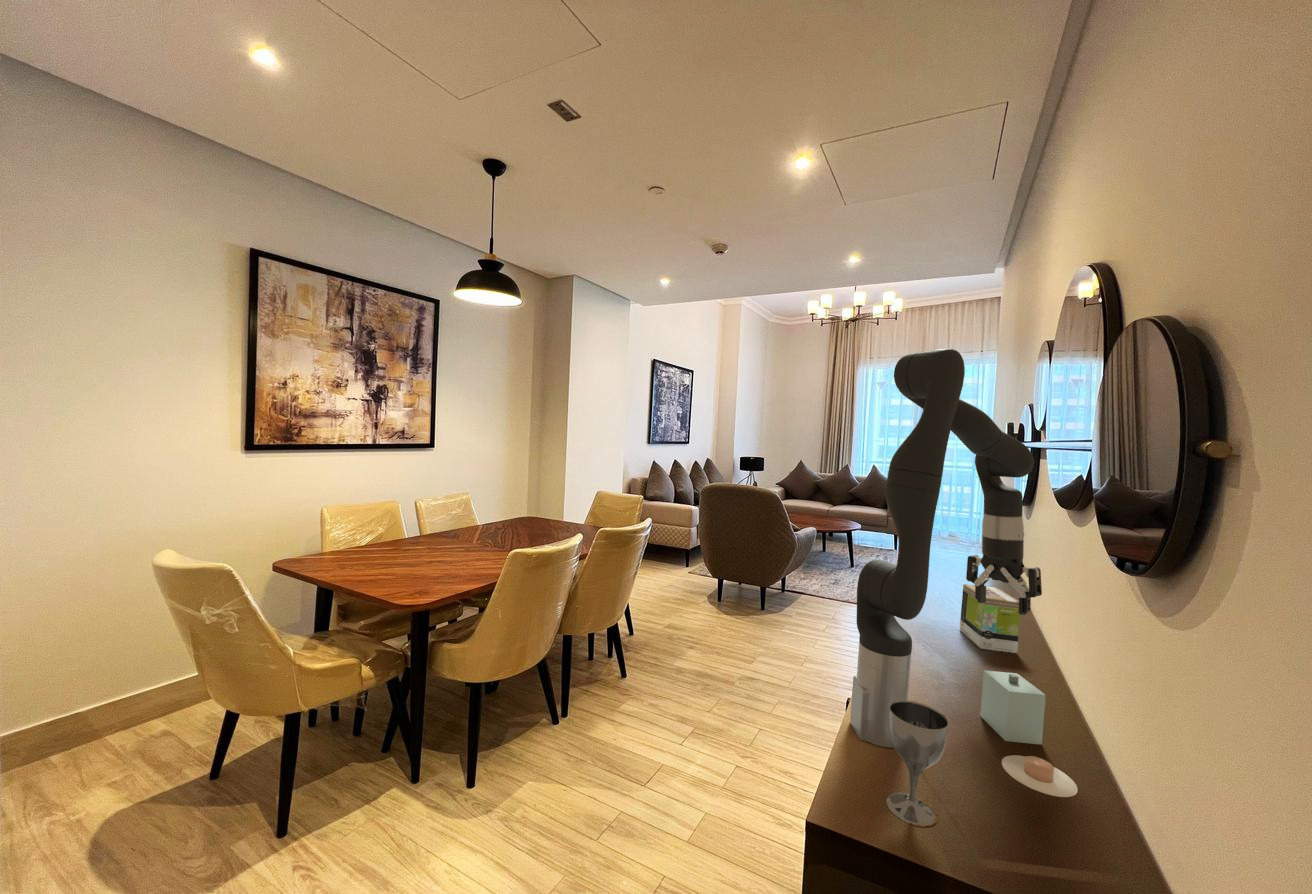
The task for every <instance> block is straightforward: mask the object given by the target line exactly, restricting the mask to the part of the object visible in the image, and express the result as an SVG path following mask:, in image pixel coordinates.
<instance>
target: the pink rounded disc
mask: <svg viewBox="0 0 1312 894" xmlns="http://www.w3.org/2000/svg"><path fill="white" fill-rule="evenodd" d="M1054 767H1055V766H1053V764H1051V762H1049V761H1047V760H1046V759H1044V758H1040V757H1039V756H1033V755H1026V756H1025V763H1024V771H1025V773H1026V774H1027V775H1028V776H1030V777H1031V778H1033V779H1035V780H1038V781H1040V782H1044V783H1051V782H1053V776H1054Z"/></svg>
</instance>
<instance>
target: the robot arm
mask: <svg viewBox="0 0 1312 894" xmlns="http://www.w3.org/2000/svg"><path fill="white" fill-rule="evenodd" d="M965 368H966V367H965V361H964V358H963V355H961V353H960V352H959V351H958V350H956V349H953V348H940V349H934V350H927V351H926V350H925V351H918V352H911V353H909V354H906V355H903V356H902V357H900V359H899V360H898V361H897V362H896V364H895V367H894V370H893V380H894V384H895V386H896V388H897V390H898V391H899V392H900V393H901V394H902V395H903V396H904V397H905V398H906V399H908V400H909V401H911V402H912V403H913V404H915V405H917V406H918V407H919V408H921V409H922V412H921V415H920V418H919V419H918V421H917V423H916V424H915V425H916V426H915V427H914V428H913V429H912V431H911V432H910V433H909V435H908V436H907V437H906V438H905V439H904V441H903V442H902V443H901V445H899V447H898V448H897V449H896V451H895V452H894V454H893V456H892V457H891V459H890V462H889V467H888V471H887V477H886V482H885V488H884V489H885V490H884V495H885V500H886V505H887V507H888V511H889V513H890V516H891V519H892V522H893V525H894V526H895V530H896V533H897V539H898V554H897V562H896V564H895V563H891V562H888V561H885V560H882V559H873V560H870V561H869V562H866V564H865V565H864V566H863V567H862V569H861V571H860V573H859V576H858V580H857V586H856V587H857V588H856V627H857V630H858V634H859V642H858V653H857V654H858V655H857V657H858V658H857V671H856V675H854V676H852V677H853V678H852V686H851V687H852V691H851V702H850V703H851V704H850V705H851V706H850V718H849V719H850V720H849V723H850V725H851V727H852V729H853V730H854V732H855V735H856V737H857V738H858V740H860V741H865V742H868V743H871V744H873V745H875V746H878V747H883V748H889V749H890V748H891V749H892V748H893V749H895V748H894V746H893V743H892V740H891V735H890V726H889V713H890V705H891V704H892V703H893V702H895V701H900V700H906V701H909V690H910V678H911V677H910V675H911V664H912V650H913V649H912V648H913V638H912V636H911V634H910V633H908V631H907V630H905V628H903V626H901V624H900V623H899V622H898V621H897V619H896V618H899V619H901V620H907V621H909V620H913V619H914V618H917V616H919V614H920V612H921V611H922V609H923V607H924V605H925V602H926V597H927V592H928V587H929V586H928V583H929V574H930V573H929V571H930V570H929V569H930V557H931V556H930V555H931V545H932V536H933V535H932V534H933V529H934V523H935V522H934V521H935V515H936V511H937V510H936V509H937V505H938V503H939V501H938V500H939V497H940V493H941V492H940V491H941V486H942V479H943V474H944V473H943V472H944V466H945V458H946V453H947V448H948V444H949V438H950V433H951V432H952V433H953V434H954V435H955V436H956V438H957V439H959V440H960V442H961V443H963V445H964V446H965V447H966V448H967V449H968V450H969V451H970V452H971V453H973V454H974V455H975V457H974V466H975V470H976V473H977V477H978V480H979V482H980V487H981V489H982V493H983V494H982V495H983V517H982V527H981V528H982V531H981V533H982V534H981V537H982V541H981V542H982V543H981V553H982V557H980V556H979V555H977V554H973V555H968V556H967V560H966V561H967V562H966V573H965V575H966V576H965V577H966V581H967V582H971V583H972V584H973V585H975V598H976V599H977V602H978V603H985V602H986V587H987V585H986V584H987V583H988V582H989V581H990V580H993V581H999V582H1002V583H1006V584H1010V585H1011V587H1012V588H1013V589H1015V590H1016V592H1017V594H1018V595H1019V597H1018V601H1019V614H1021V615H1020V616H1025V615H1027V614H1028V613H1030V611H1032V610H1031V607H1032V606H1031V604H1032V603H1031V602H1032V601H1031V599H1032V598H1036V597H1040V596H1042V594H1043V592H1042V591H1043V590H1042V576H1041V575H1042V573H1041V572H1042V571H1041V568H1040V567H1038V566H1036V567H1030V566H1025V564H1024V561H1023V560H1024V550H1025V549H1024V543H1025V542H1024V540H1025V539H1024V538H1025V531H1024V529H1025V528H1024V521H1023V520H1024V519H1023V507H1024V506H1023V501H1024V500H1023V493H1022V491H1020V490H1019V489H1017V488H1013V487H1010V486H1007V485H1006V484H1004V482H1003V481H1002V479H1001V477H1002V478H1003V477H1004V478H1023V477H1025V476H1028V475H1029V474H1030V473H1031V472H1032V470H1033V468H1034V464H1035V459H1034V456H1033V454H1032V452H1031V450H1030V449H1029V447H1027V446H1026V445H1025V444H1024V443H1023V442H1021V441H1020V440H1018V439H1017V438H1015V437H1013V436H1012V435H1010V434H1008V433H1006V432H1004V431H1002V429H1001V428H1000V427H999V426H998V425H997V424H996V423H995V421H993V419H992V418H991V417H990V416H989V415H988V414H987V413H986V412H984V411H983V410H982V409H980V408H979V407H976V406H974V405H973V404H971V403H968V402H967V401H964V400H963V399H960V398H961V395H962V394H961V393H962V390H963V386H964V380H965V374H966V373H965V371H966V369H965ZM980 565H982V567H983V569H984V571H982V573H981V574H980V575H979V567H980ZM1023 573H1025V576H1026V577H1027V579H1028V585H1027V582H1026V580H1025V578H1024V577H1023V576H1022V574H1023Z"/></svg>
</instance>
